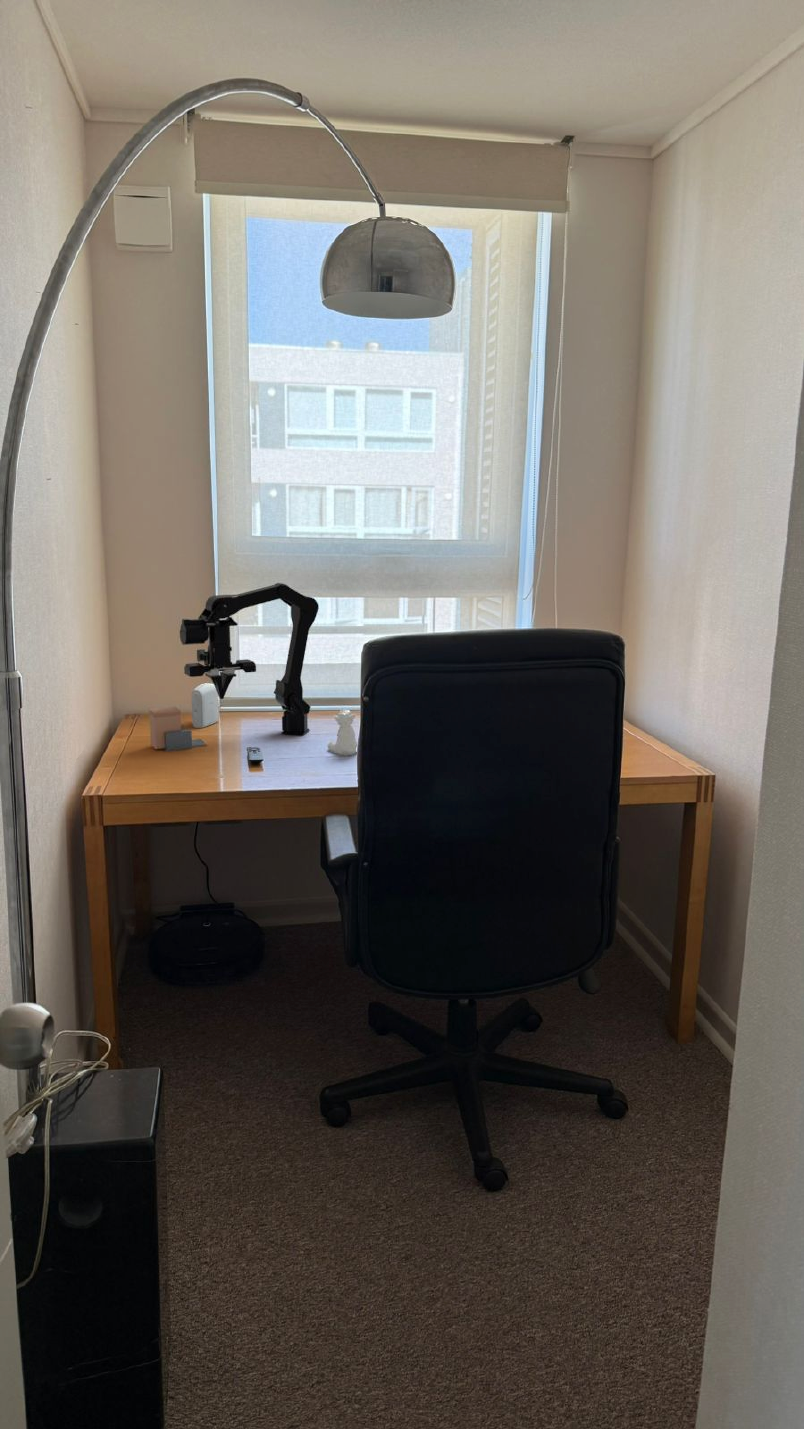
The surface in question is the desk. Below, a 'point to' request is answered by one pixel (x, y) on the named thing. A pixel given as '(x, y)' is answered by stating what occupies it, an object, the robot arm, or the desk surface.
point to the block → (163, 724)
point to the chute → (181, 740)
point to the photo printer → (204, 705)
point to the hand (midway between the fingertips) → (221, 698)
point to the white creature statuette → (344, 735)
